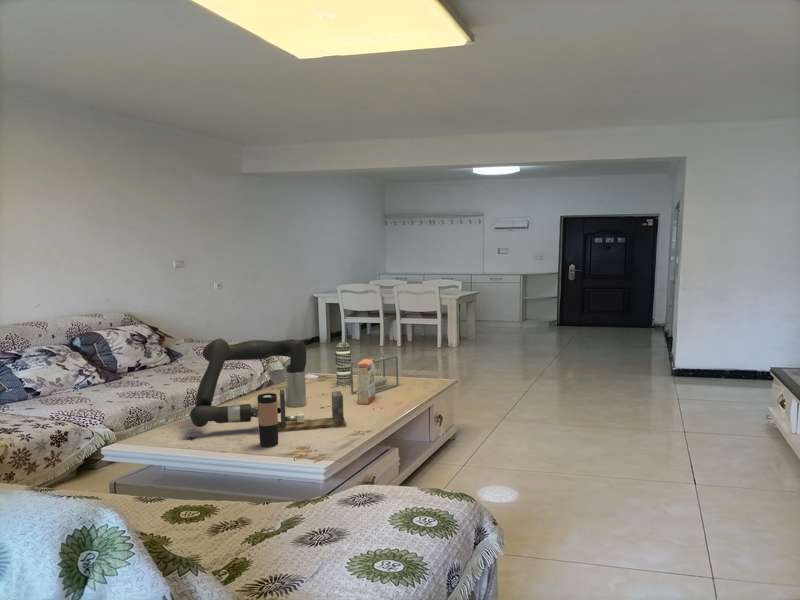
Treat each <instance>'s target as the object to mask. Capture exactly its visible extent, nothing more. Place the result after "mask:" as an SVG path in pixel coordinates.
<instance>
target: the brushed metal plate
mask: <svg viewBox="0 0 800 600" xmlns="http://www.w3.org/2000/svg"><path fill="white" fill-rule="evenodd" d="M279 404H280V405H279V406H280V407H279V408H280V410H281V413H280V422H281V427H283V426H286V421H296V420H297V415H291V416H286V392H285V389H279Z"/></svg>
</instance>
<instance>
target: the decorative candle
mask: <svg viewBox="0 0 800 600" xmlns="http://www.w3.org/2000/svg"><path fill="white" fill-rule="evenodd" d="M335 347H336V350H335V353H334V355H335V356H334V358H335V367H336V387H337V386H338V387H337V388H339V387H347V388H350V387H349V386H351V372H350V365H351V363H352V359H351V358H352V353H351V350H350V344H349V343H348V342H344V341H343V342H342V341H341V342H338V343H337V344H336V345H335Z"/></svg>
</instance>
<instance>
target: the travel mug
mask: <svg viewBox="0 0 800 600" xmlns="http://www.w3.org/2000/svg"><path fill="white" fill-rule="evenodd" d="M257 407H258V418H257V420H258V423H257V424H258V434H259V435H258V437H259V446H260V447H263V448H273V447H276V446H278V445H279V432H278V422H279V416H278V414H279V413H278V411H277V408H278V396H277V393H274V392H270V393H269V392H268V393H260V394H258V395H257Z"/></svg>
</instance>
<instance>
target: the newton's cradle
mask: <svg viewBox="0 0 800 600" xmlns="http://www.w3.org/2000/svg"><path fill="white" fill-rule="evenodd" d="M364 359H374V364H376V372H375V375H378V378H375V388H378V387H381V386H385V385H387V386H388V387H385V388H380V389H378V390H375V394H378V393H381V392H384V391H386V390H387V391H388V390H390V389H393V388H396V387H398V386H399V358H398V356H397V355H389V356H388V355H385V354H378V355H374V356H369V357H366V358H362V359H358V360H353V361H351V363H350V372H351V373H350V374H351V378H350V379H351V387H350V392H351V394H353V395H355V394H354V393H357V392H358V390H356V391H354V374H353V371H354V370H353V365H354V364H357V363H359V362H361V361H362V360H364ZM391 359H395V367H396V369H395V371H396V372H395V373H396V377H395V378H396V384H389V383H387V382H388V379H387V377H386V368H387V367H386V366H387V364H386V361H387V360H391ZM379 362H380V370H382V372H380V375H379V374H378V372H379V370H378V366H379V365H378V364H379ZM381 374H382V376H381ZM380 376H381V377H380ZM377 386H378V387H377ZM357 395H358V393H357Z"/></svg>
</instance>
